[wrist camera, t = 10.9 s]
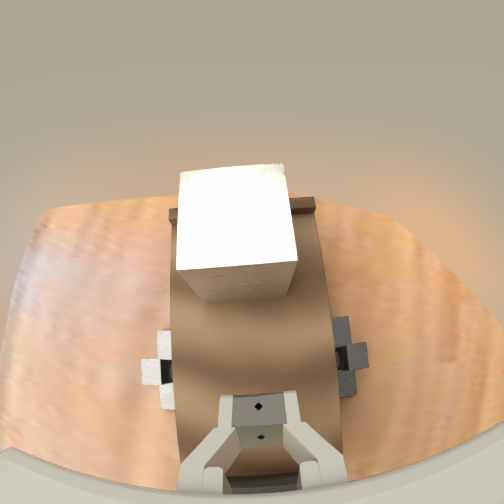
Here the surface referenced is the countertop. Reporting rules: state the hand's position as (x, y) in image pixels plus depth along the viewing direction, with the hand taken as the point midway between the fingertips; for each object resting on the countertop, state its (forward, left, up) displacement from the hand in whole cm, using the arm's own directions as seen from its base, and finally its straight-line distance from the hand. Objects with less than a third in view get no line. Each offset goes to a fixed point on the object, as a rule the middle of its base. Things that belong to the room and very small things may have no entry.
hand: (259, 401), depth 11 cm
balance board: (0, -1, -11) cm, 11 cm away
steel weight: (+1, -9, -9) cm, 13 cm away
